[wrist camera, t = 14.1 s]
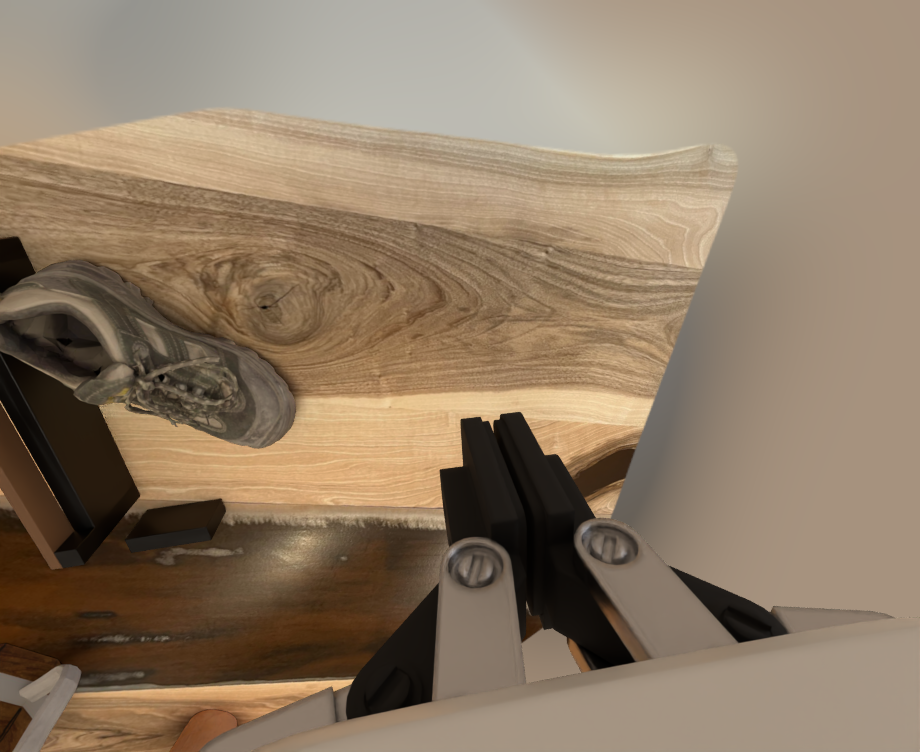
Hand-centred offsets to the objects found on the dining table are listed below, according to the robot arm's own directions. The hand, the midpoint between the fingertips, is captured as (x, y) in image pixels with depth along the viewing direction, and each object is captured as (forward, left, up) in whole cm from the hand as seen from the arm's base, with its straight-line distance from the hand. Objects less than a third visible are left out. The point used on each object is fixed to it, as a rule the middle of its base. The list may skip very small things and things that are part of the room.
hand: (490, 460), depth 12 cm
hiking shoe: (+4, -21, -28) cm, 35 cm away
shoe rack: (+8, -27, -28) cm, 40 cm away
